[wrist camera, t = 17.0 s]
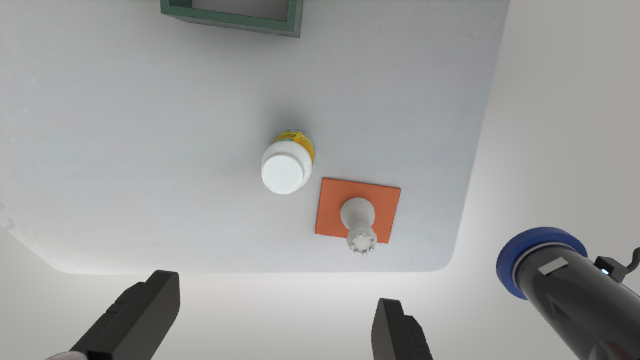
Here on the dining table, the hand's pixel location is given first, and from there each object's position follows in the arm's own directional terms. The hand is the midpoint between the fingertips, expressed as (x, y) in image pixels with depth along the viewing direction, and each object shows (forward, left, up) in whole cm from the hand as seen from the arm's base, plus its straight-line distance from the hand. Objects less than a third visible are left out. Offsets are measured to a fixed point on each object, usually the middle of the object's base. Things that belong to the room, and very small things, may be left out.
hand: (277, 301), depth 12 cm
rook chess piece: (-7, +8, -26) cm, 28 cm away
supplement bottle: (+3, +1, -27) cm, 27 cm away
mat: (-6, +8, -26) cm, 28 cm away
